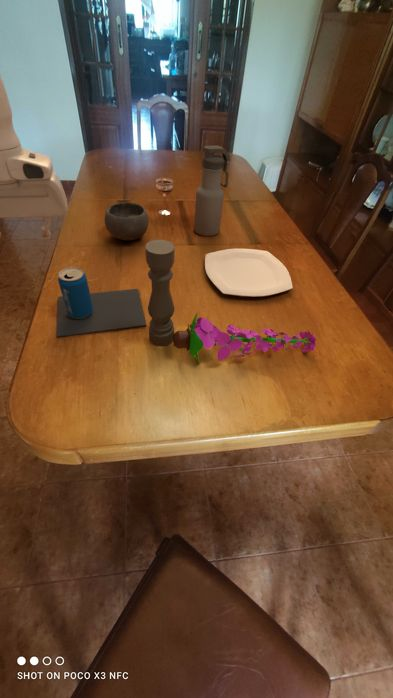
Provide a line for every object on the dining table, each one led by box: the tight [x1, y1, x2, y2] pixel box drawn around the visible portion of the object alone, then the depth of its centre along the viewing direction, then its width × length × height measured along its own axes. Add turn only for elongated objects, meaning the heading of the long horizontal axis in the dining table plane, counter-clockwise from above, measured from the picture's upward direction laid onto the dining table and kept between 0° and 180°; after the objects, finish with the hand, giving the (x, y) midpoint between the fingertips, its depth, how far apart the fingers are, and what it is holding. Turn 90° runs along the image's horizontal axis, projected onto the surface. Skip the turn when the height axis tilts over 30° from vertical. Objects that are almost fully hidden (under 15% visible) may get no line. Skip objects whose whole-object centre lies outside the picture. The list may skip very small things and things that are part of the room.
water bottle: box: [193, 145, 231, 237], centre depth 111 cm, size 10×10×28 cm
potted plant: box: [172, 311, 317, 364], centre depth 76 cm, size 12×16×35 cm
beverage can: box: [57, 266, 93, 319], centre depth 79 cm, size 6×6×12 cm
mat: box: [55, 288, 148, 339], centre depth 85 cm, size 22×16×1 cm
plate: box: [204, 248, 294, 298], centre depth 101 cm, size 27×27×2 cm
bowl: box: [104, 201, 150, 241], centre depth 110 cm, size 15×15×10 cm
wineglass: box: [155, 177, 174, 216], centre depth 126 cm, size 7×7×12 cm
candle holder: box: [144, 239, 176, 348], centre depth 71 cm, size 6×6×25 cm
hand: (22, 236), depth 66 cm, fingers open, 8 cm apart
